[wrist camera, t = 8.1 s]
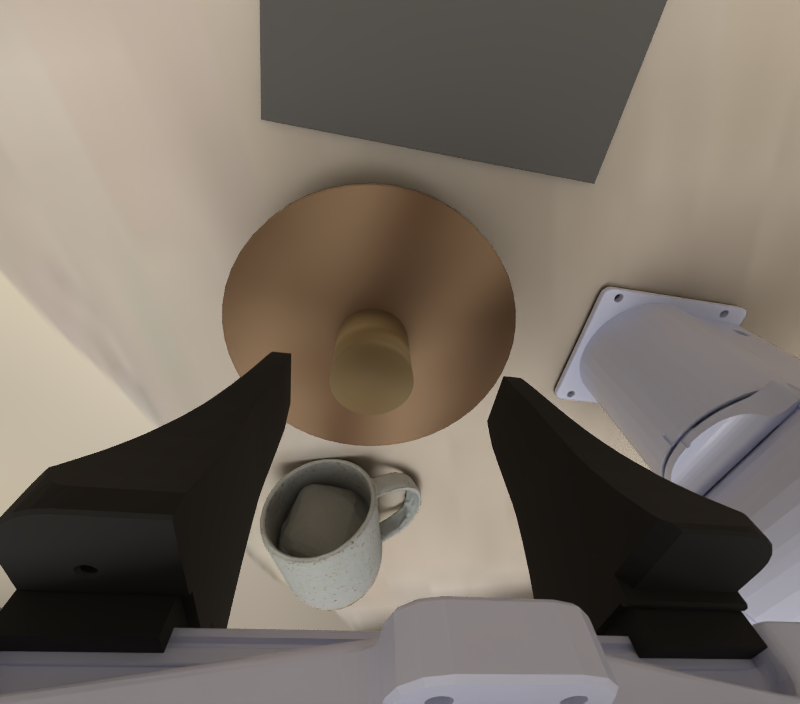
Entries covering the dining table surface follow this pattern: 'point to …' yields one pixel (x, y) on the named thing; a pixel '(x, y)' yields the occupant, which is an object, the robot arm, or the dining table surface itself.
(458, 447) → the dining table surface
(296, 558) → the ceramic mug
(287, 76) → the rubber mat
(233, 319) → the walnut cover
